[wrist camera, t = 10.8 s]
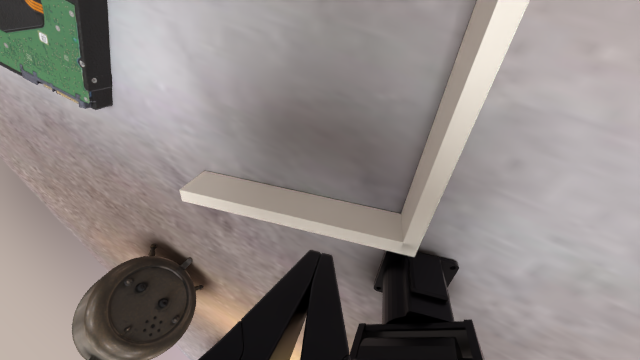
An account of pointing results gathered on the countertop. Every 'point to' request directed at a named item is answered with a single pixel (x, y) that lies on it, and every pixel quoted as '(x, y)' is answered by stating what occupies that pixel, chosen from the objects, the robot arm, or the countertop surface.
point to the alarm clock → (135, 310)
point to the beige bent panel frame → (432, 172)
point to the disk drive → (59, 47)
